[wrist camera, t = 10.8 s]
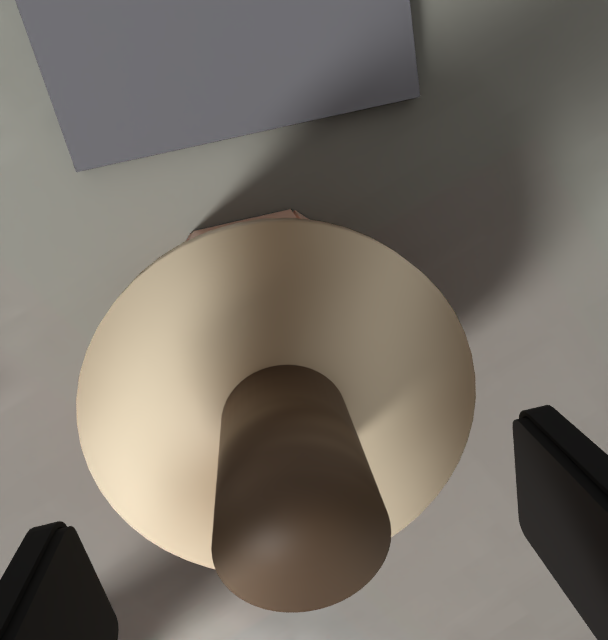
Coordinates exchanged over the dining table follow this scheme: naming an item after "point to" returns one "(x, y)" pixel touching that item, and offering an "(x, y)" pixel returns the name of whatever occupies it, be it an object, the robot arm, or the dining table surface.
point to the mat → (212, 68)
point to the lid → (277, 406)
